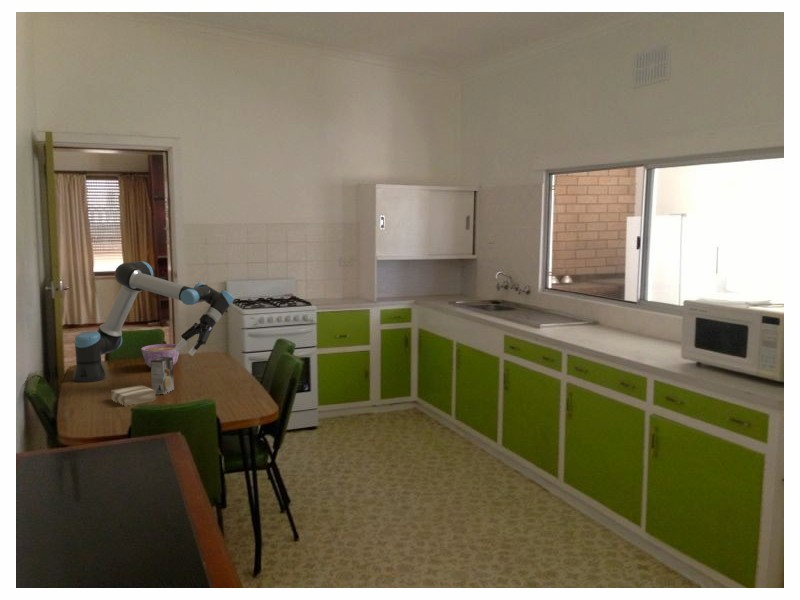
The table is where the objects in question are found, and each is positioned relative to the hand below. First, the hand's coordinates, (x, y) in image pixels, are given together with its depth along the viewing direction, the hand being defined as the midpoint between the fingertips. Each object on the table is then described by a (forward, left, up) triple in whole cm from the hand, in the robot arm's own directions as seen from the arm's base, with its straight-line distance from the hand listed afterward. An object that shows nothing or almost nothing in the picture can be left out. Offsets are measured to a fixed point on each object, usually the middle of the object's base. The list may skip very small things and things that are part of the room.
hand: (182, 352), depth 323 cm
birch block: (+4, -27, -18) cm, 33 cm away
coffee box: (0, -11, -18) cm, 21 cm away
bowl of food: (-47, +11, -18) cm, 52 cm away
